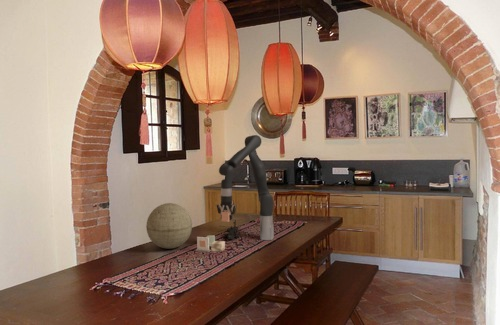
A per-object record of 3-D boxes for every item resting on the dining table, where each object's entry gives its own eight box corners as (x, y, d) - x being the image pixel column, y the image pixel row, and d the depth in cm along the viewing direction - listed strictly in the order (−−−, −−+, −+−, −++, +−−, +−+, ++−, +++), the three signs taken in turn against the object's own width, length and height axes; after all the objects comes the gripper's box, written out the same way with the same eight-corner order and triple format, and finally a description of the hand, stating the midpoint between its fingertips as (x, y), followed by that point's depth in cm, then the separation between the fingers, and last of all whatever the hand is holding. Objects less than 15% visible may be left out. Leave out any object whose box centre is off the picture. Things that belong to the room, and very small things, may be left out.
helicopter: (249, 237, 317) (249, 218, 319) (245, 241, 284) (245, 219, 285) (221, 237, 319) (221, 218, 321) (213, 240, 286) (213, 219, 287)
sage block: (215, 243, 280) (214, 235, 280) (213, 245, 275) (213, 237, 275) (207, 243, 281) (207, 235, 280) (206, 245, 276) (206, 237, 275)
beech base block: (225, 248, 268) (224, 241, 268) (221, 251, 261) (221, 244, 261) (215, 248, 270) (214, 240, 269) (211, 251, 263) (211, 243, 263)
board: (210, 251, 262) (210, 237, 262) (208, 252, 259) (208, 238, 259) (197, 250, 265) (197, 236, 265) (195, 251, 262) (195, 237, 262)
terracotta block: (231, 220, 274) (231, 211, 273) (228, 221, 269) (228, 212, 269) (224, 219, 275) (224, 211, 275) (221, 221, 271) (221, 212, 270)
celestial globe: (138, 248, 271) (136, 203, 270) (175, 240, 293) (174, 198, 291) (163, 257, 250) (162, 208, 249) (201, 247, 272) (200, 202, 270)
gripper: (238, 194, 272) (238, 219, 273) (219, 193, 277) (219, 218, 278) (234, 196, 265) (234, 222, 266) (214, 195, 270) (214, 220, 271)
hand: (226, 220), depth 272 cm, fingers closed on terracotta block, 5 cm apart
